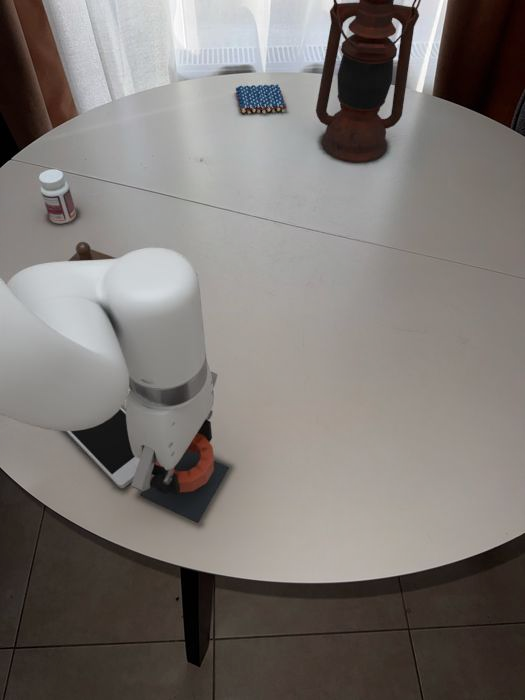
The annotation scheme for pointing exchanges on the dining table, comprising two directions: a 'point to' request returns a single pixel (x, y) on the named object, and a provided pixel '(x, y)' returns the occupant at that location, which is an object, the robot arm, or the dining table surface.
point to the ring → (202, 470)
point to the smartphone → (110, 448)
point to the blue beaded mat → (260, 98)
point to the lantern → (364, 77)
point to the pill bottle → (57, 196)
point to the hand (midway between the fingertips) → (183, 461)
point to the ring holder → (88, 253)
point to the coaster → (191, 501)
